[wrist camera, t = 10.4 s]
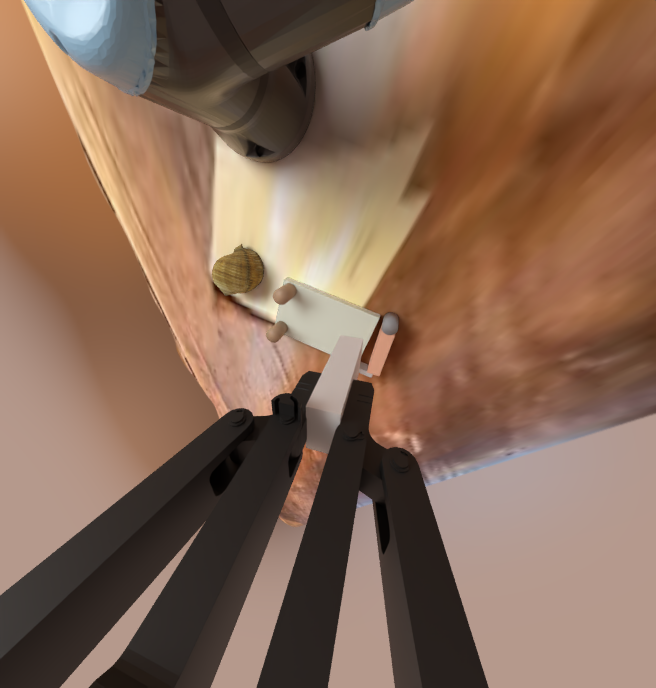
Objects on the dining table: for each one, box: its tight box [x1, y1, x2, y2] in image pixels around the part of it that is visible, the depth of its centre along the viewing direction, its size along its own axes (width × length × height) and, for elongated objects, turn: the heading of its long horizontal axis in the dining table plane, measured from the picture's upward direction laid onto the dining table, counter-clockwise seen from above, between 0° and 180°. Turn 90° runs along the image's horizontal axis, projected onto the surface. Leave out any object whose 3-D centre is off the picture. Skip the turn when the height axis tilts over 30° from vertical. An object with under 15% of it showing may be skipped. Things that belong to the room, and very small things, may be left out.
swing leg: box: [367, 312, 399, 376], centre depth 42 cm, size 11×3×4 cm, turn 168°
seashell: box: [212, 244, 264, 295], centre depth 43 cm, size 10×7×8 cm
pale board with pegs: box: [266, 277, 380, 378], centre depth 43 cm, size 22×12×6 cm, turn 70°
